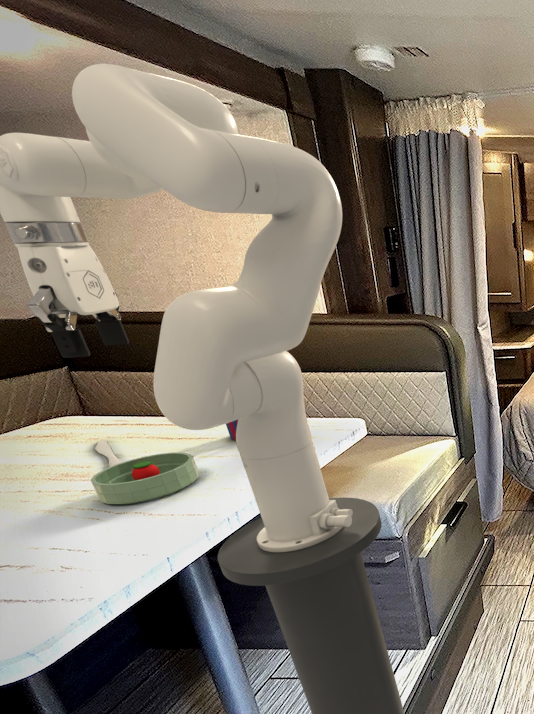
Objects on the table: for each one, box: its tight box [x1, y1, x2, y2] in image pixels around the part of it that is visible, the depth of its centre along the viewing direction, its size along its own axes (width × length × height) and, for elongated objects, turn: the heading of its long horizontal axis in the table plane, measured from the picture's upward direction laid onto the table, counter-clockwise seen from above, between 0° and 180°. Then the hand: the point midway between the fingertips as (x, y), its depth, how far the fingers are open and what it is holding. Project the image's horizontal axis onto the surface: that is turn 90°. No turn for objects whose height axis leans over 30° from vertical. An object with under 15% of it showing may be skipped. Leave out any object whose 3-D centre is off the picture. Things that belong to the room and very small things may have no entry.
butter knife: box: [94, 439, 123, 468], centre depth 112 cm, size 1×27×3 cm
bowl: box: [90, 452, 200, 505], centre depth 96 cm, size 14×14×4 cm
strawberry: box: [132, 461, 160, 480], centre depth 96 cm, size 4×4×5 cm
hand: (98, 350), depth 80 cm, fingers open, 9 cm apart
